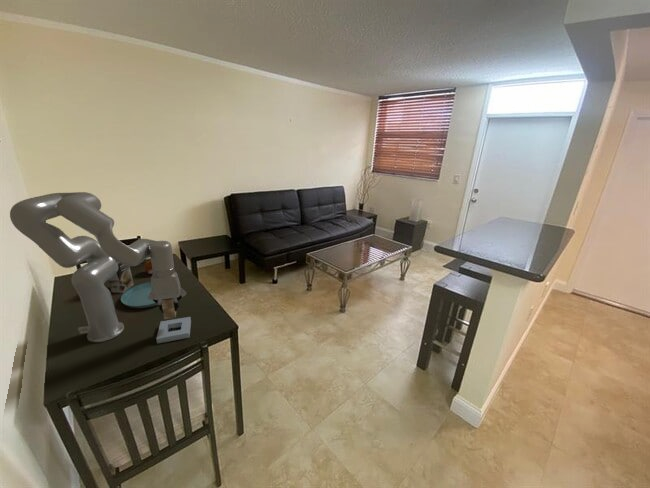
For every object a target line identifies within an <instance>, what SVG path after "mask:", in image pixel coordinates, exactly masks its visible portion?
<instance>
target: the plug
mask: <svg viewBox="0 0 650 488" xmlns="http://www.w3.org/2000/svg"><path fill="white" fill-rule="evenodd" d="M161 302H162V309H163V313H162V314H163V319H164V320H167V319H169V320H171V319H177V318H176V317H177V311H175V309H174V299H173V298H171V299H162V300H161Z"/></svg>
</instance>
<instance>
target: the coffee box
mask: <svg viewBox="0 0 650 488" xmlns="http://www.w3.org/2000/svg"><path fill="white" fill-rule="evenodd" d="M115 261H116V260H115ZM116 262H117V264H118V271H117V273H116V274H115V275H114V276H112V277H111V278H109V279H108V280H107V281H108V283H109V287H110V293H117V294H118V293H119V294H124V293H125V292H126V291H127V290H129V289H131V288H133V287H134V279H133V275H132V271H131V266H126V265H124V264H122V263H120V262H118V261H116Z"/></svg>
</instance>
